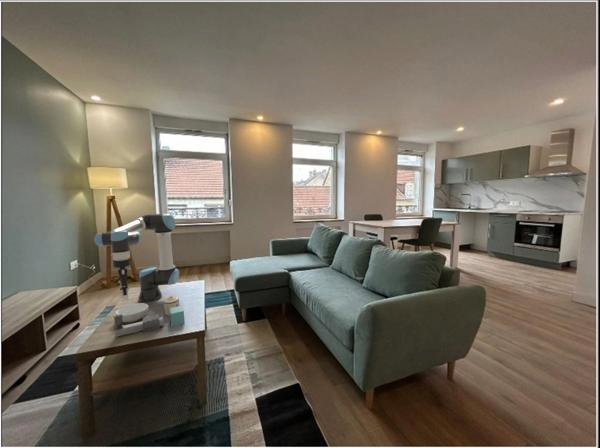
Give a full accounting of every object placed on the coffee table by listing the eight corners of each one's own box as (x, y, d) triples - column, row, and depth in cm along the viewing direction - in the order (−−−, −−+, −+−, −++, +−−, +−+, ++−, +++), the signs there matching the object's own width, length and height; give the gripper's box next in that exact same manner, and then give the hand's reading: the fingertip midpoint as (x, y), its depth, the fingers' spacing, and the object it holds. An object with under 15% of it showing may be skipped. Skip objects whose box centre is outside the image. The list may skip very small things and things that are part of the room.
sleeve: (143, 327, 142) (143, 317, 141) (159, 323, 146) (158, 313, 145) (143, 333, 136) (142, 322, 135) (159, 328, 140) (159, 318, 139)
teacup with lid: (177, 315, 157) (176, 297, 155) (162, 316, 154) (161, 299, 153) (182, 307, 168) (181, 291, 167) (167, 308, 166) (166, 292, 165)
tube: (116, 333, 133) (114, 315, 132) (163, 322, 145) (162, 305, 144) (115, 336, 130) (113, 318, 129) (163, 324, 142) (162, 308, 141)
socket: (170, 320, 150) (169, 308, 149) (183, 317, 153) (182, 305, 152) (171, 326, 142) (170, 313, 141) (184, 323, 146) (183, 310, 145)
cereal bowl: (111, 328, 141) (110, 316, 141) (123, 315, 157) (122, 305, 156) (144, 323, 146) (143, 312, 145) (152, 311, 162) (151, 301, 161)
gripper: (112, 256, 138) (115, 291, 140) (113, 264, 118) (116, 306, 120) (128, 254, 142) (131, 288, 145) (131, 262, 123) (135, 302, 125)
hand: (124, 296), depth 132 cm, fingers open, 13 cm apart
